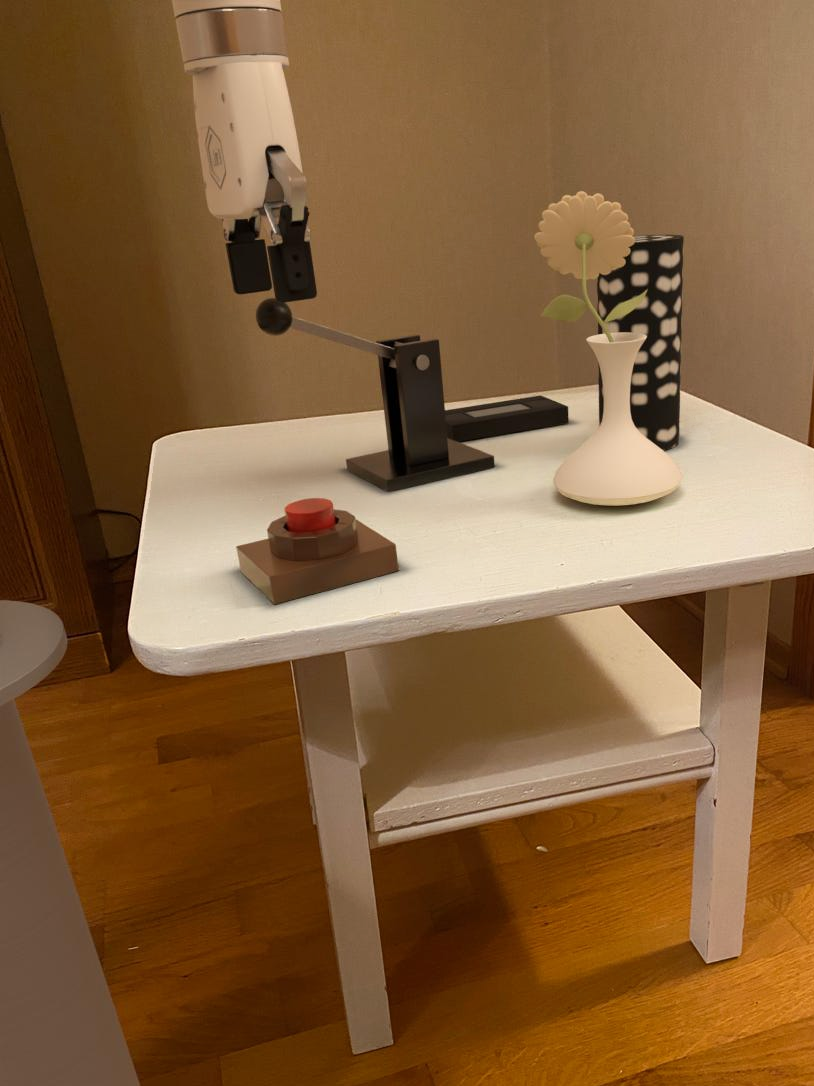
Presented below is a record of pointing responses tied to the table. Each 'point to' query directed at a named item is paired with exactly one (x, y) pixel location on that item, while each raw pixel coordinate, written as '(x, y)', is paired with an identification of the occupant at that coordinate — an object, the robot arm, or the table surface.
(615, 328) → the white-spotted black cylinder
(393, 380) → the bracket
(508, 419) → the vhs tape
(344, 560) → the button block
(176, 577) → the table surface
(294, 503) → the button
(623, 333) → the flower in vase
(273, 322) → the lever
